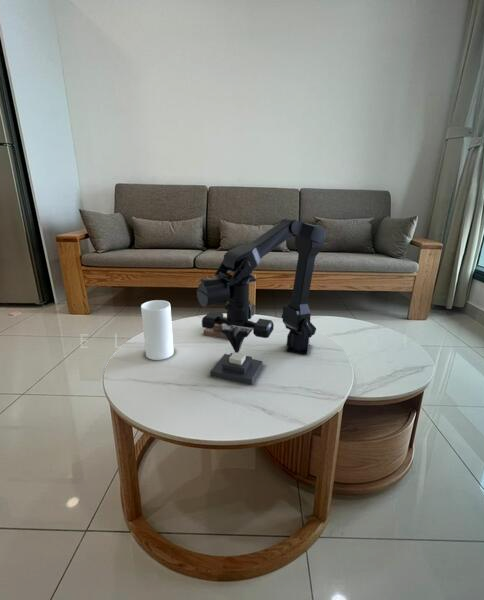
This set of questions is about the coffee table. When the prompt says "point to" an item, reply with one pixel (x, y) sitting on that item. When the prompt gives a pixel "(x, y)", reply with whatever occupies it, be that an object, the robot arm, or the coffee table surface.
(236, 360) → the key front
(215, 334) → the stepped brown pyramid
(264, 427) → the coffee table surface
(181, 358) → the coffee table surface
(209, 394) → the coffee table surface
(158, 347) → the cup
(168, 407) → the coffee table surface
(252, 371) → the dark grey stepped stand
